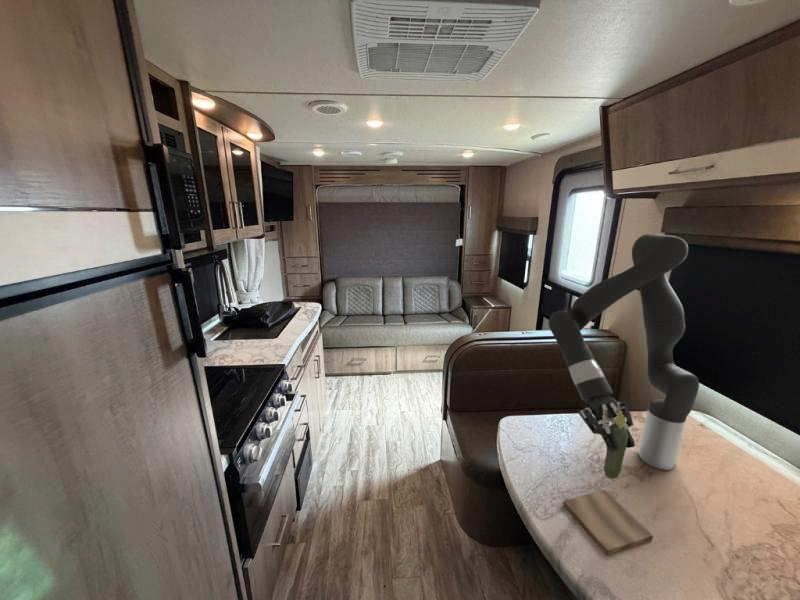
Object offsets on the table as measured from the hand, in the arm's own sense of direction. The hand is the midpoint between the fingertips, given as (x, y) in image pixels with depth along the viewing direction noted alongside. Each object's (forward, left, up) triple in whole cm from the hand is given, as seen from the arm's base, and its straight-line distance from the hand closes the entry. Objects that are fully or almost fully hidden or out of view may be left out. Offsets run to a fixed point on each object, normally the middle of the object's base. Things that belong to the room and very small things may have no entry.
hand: (623, 448), depth 76 cm
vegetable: (0, -2, -11) cm, 11 cm away
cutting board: (0, -1, -23) cm, 23 cm away
